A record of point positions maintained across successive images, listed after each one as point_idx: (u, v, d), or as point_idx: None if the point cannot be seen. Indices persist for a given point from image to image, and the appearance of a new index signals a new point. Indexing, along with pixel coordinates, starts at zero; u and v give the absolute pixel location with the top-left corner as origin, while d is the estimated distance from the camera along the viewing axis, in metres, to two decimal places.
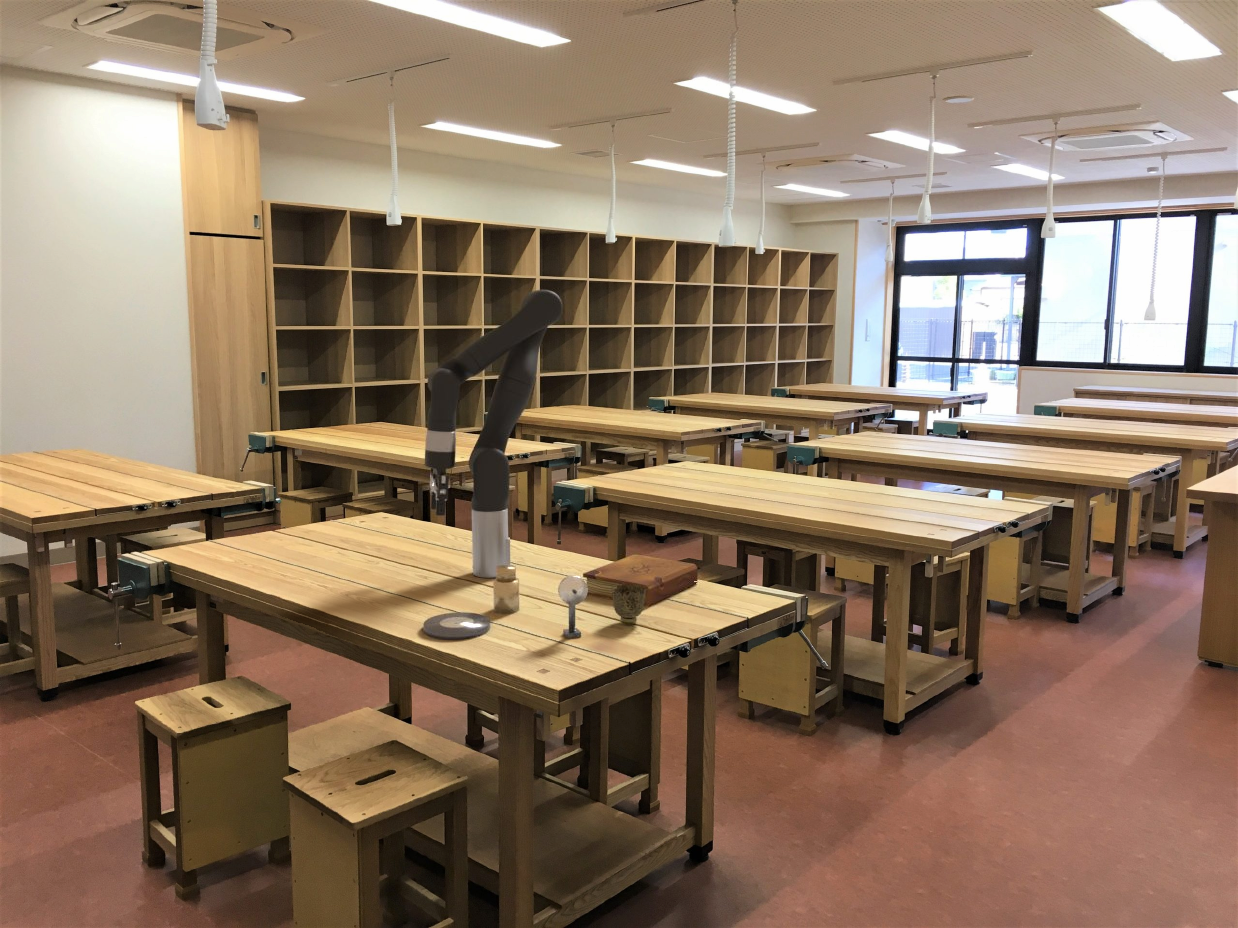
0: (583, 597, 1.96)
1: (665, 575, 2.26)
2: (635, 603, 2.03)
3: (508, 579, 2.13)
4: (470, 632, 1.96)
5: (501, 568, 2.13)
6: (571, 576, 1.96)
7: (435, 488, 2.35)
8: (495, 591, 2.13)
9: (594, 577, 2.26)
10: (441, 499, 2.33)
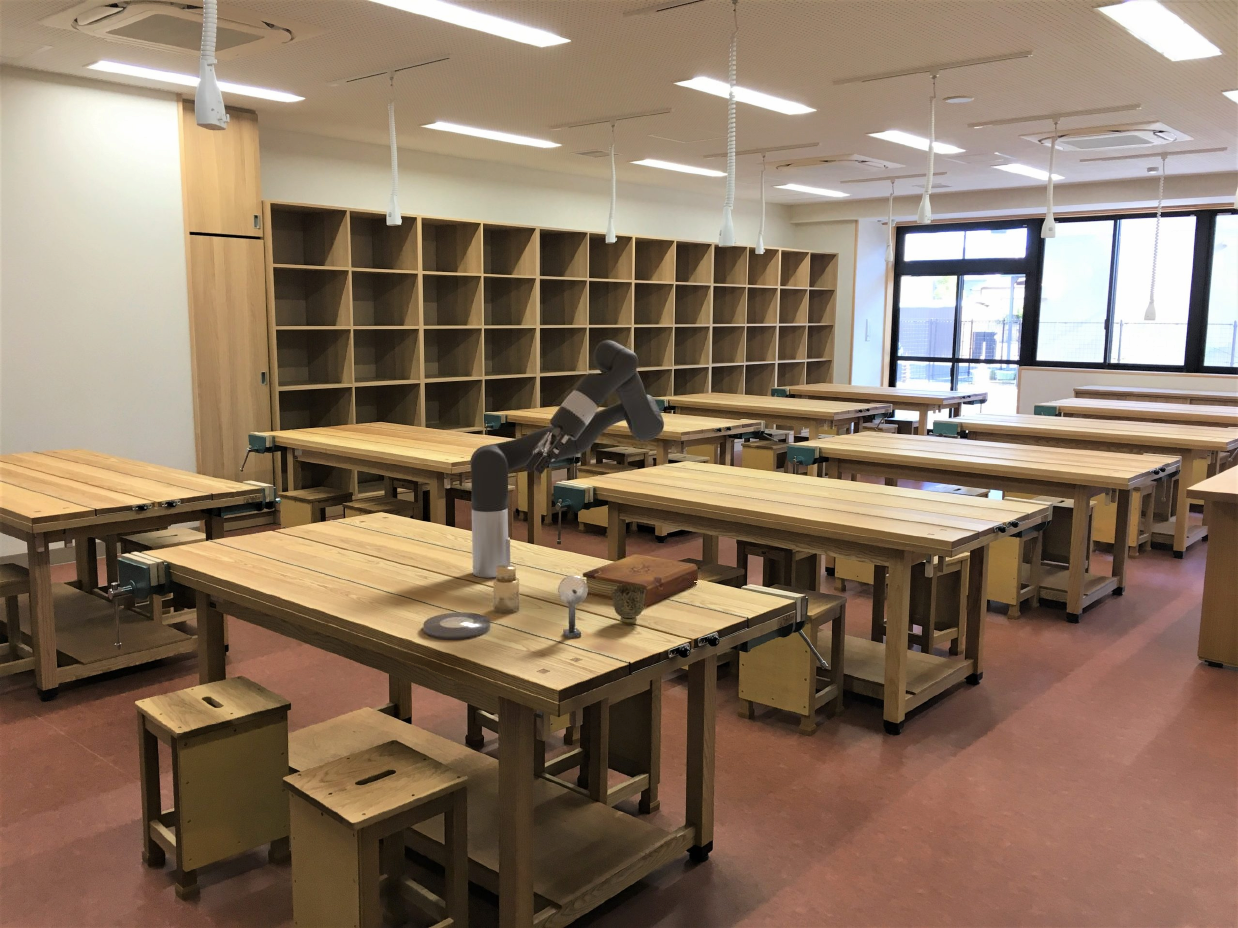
0: (583, 597, 1.96)
1: (665, 575, 2.26)
2: (635, 603, 2.03)
3: (508, 579, 2.13)
4: (470, 632, 1.96)
5: (501, 568, 2.13)
6: (571, 576, 1.96)
7: (549, 444, 2.13)
8: (495, 591, 2.13)
9: (594, 577, 2.26)
10: (550, 456, 2.10)
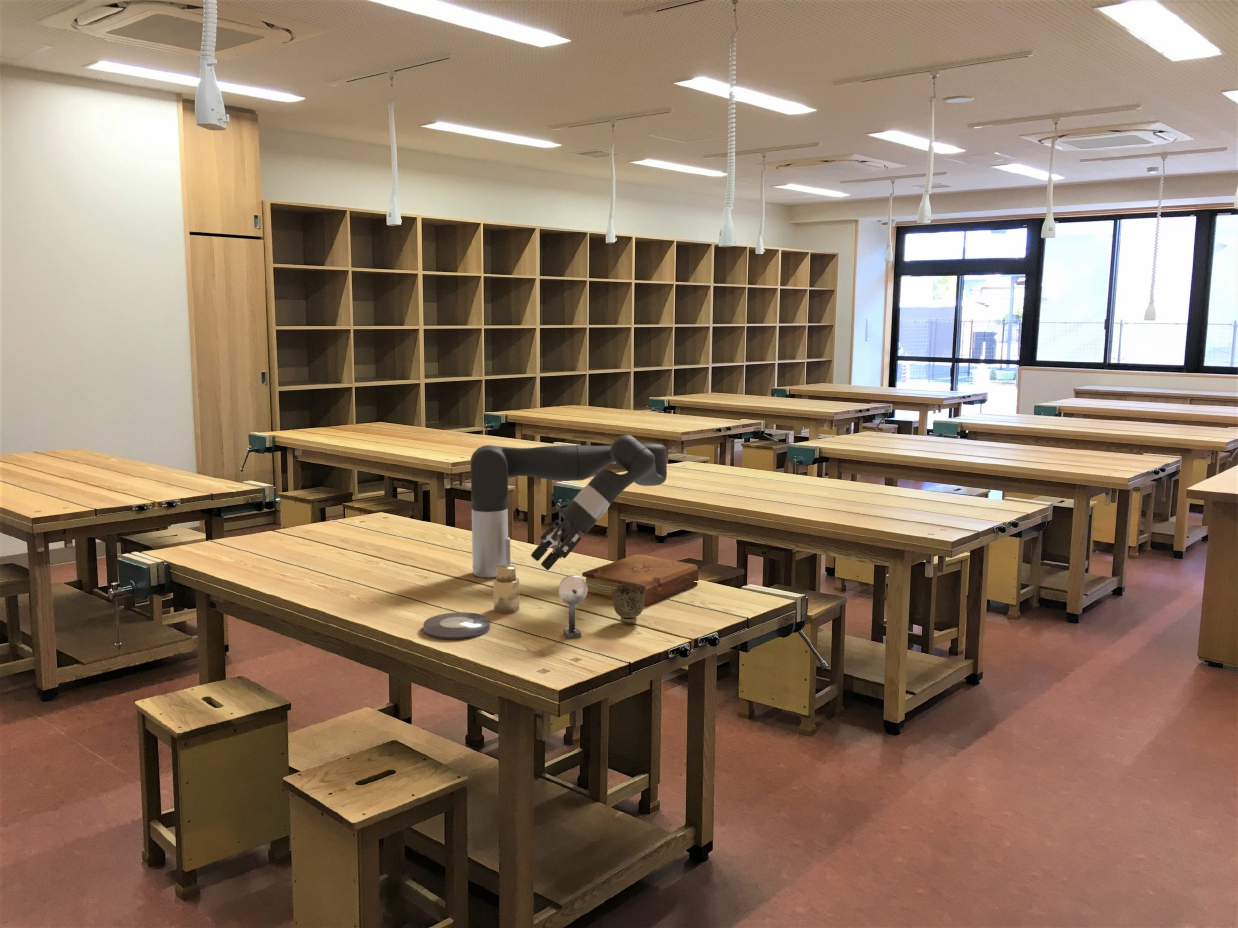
0: (583, 597, 1.96)
1: (664, 575, 2.26)
2: (635, 603, 2.03)
3: (508, 579, 2.13)
4: (470, 632, 1.96)
5: (501, 568, 2.13)
6: (571, 576, 1.96)
7: (558, 540, 2.13)
8: (495, 591, 2.13)
9: (593, 576, 2.27)
10: (558, 554, 2.10)
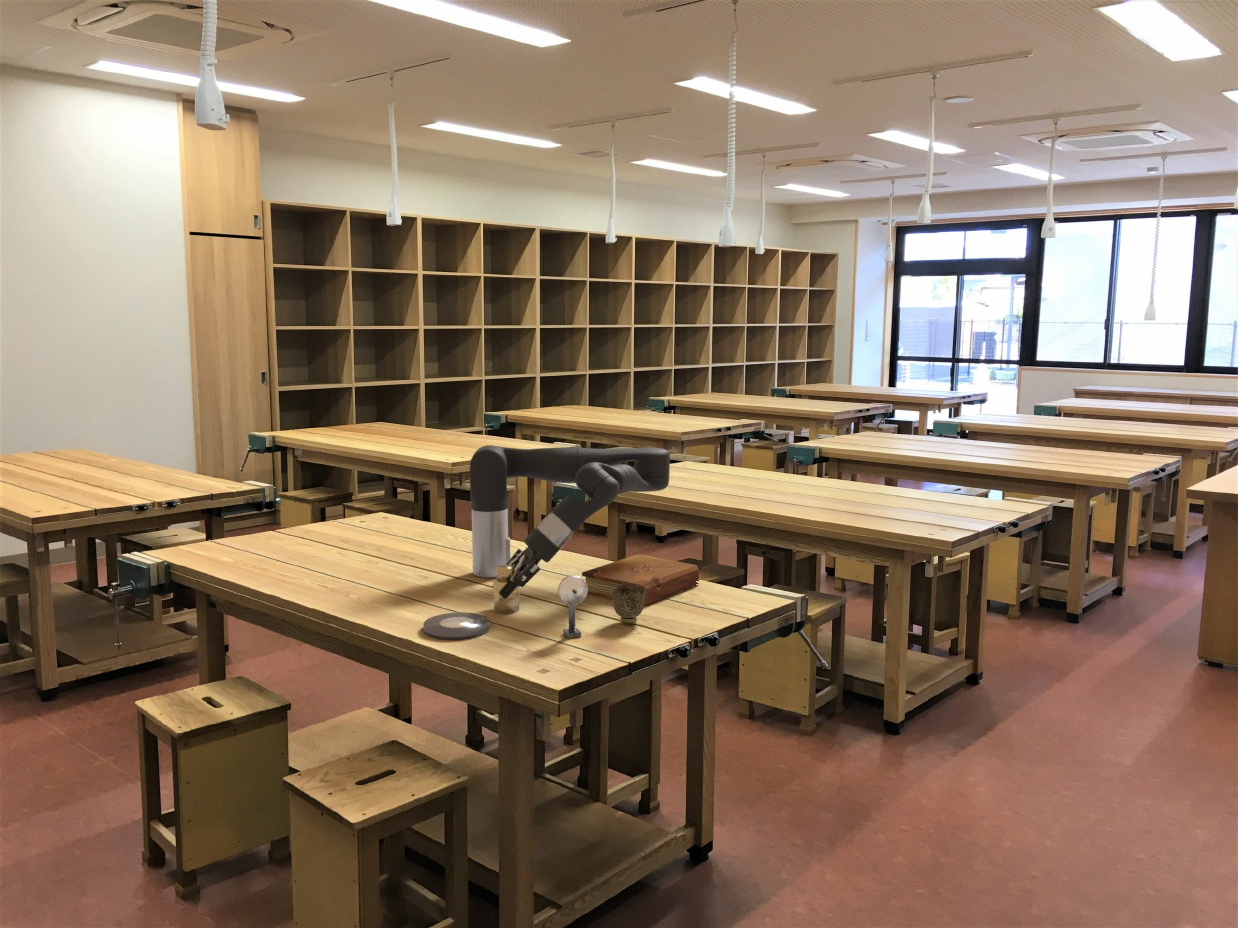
0: (583, 597, 1.96)
1: (663, 576, 2.26)
2: (635, 603, 2.03)
3: (508, 579, 2.13)
4: (470, 632, 1.96)
5: (501, 568, 2.13)
6: (571, 576, 1.96)
7: (518, 569, 2.12)
8: (495, 591, 2.13)
9: (592, 576, 2.27)
10: (516, 583, 2.10)
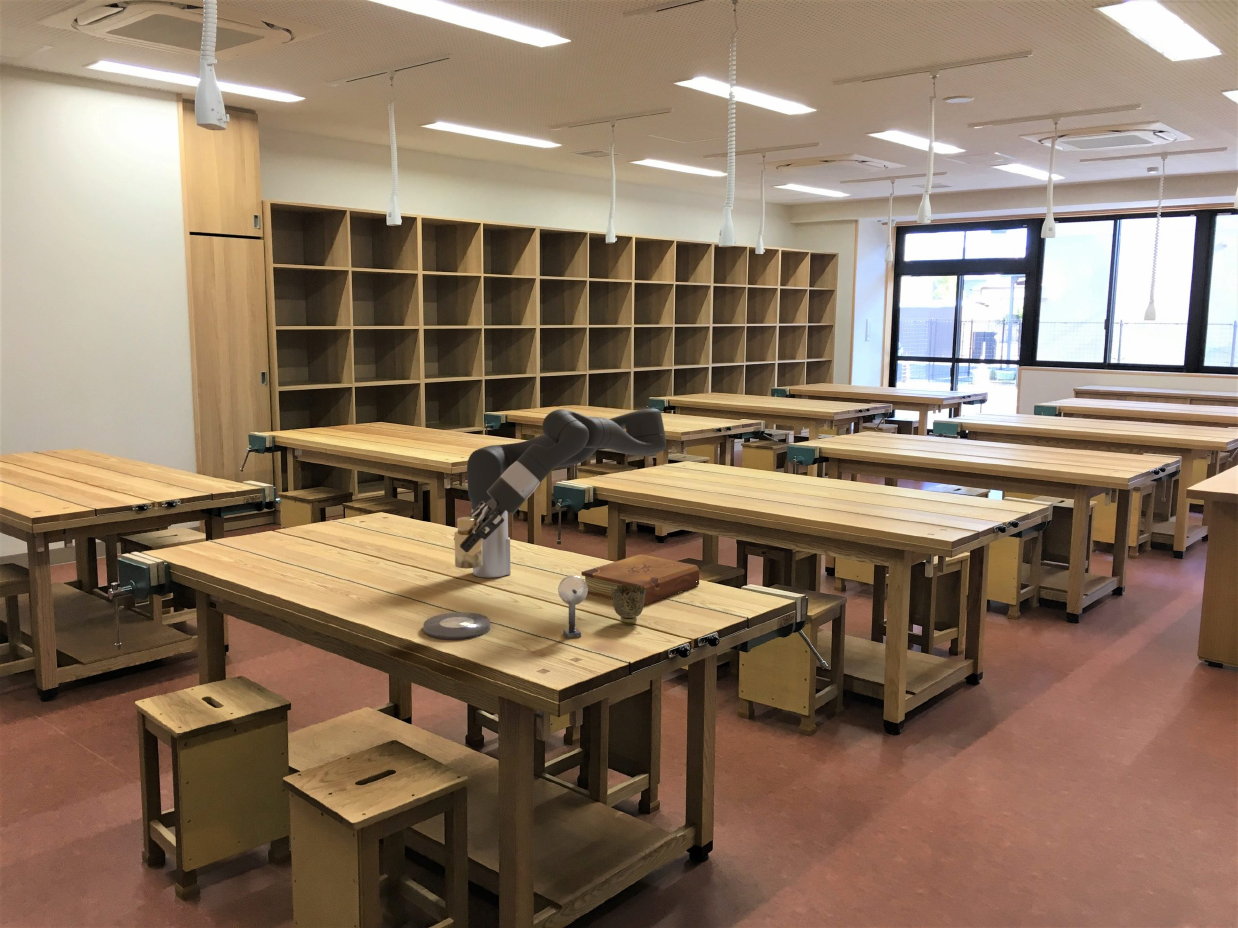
0: (583, 597, 1.96)
1: (662, 576, 2.26)
2: (635, 603, 2.03)
3: (470, 532, 1.99)
4: (470, 632, 1.96)
5: (463, 520, 1.99)
6: (571, 576, 1.96)
7: (480, 521, 1.98)
8: (456, 544, 1.99)
9: (592, 576, 2.27)
10: (478, 535, 1.96)
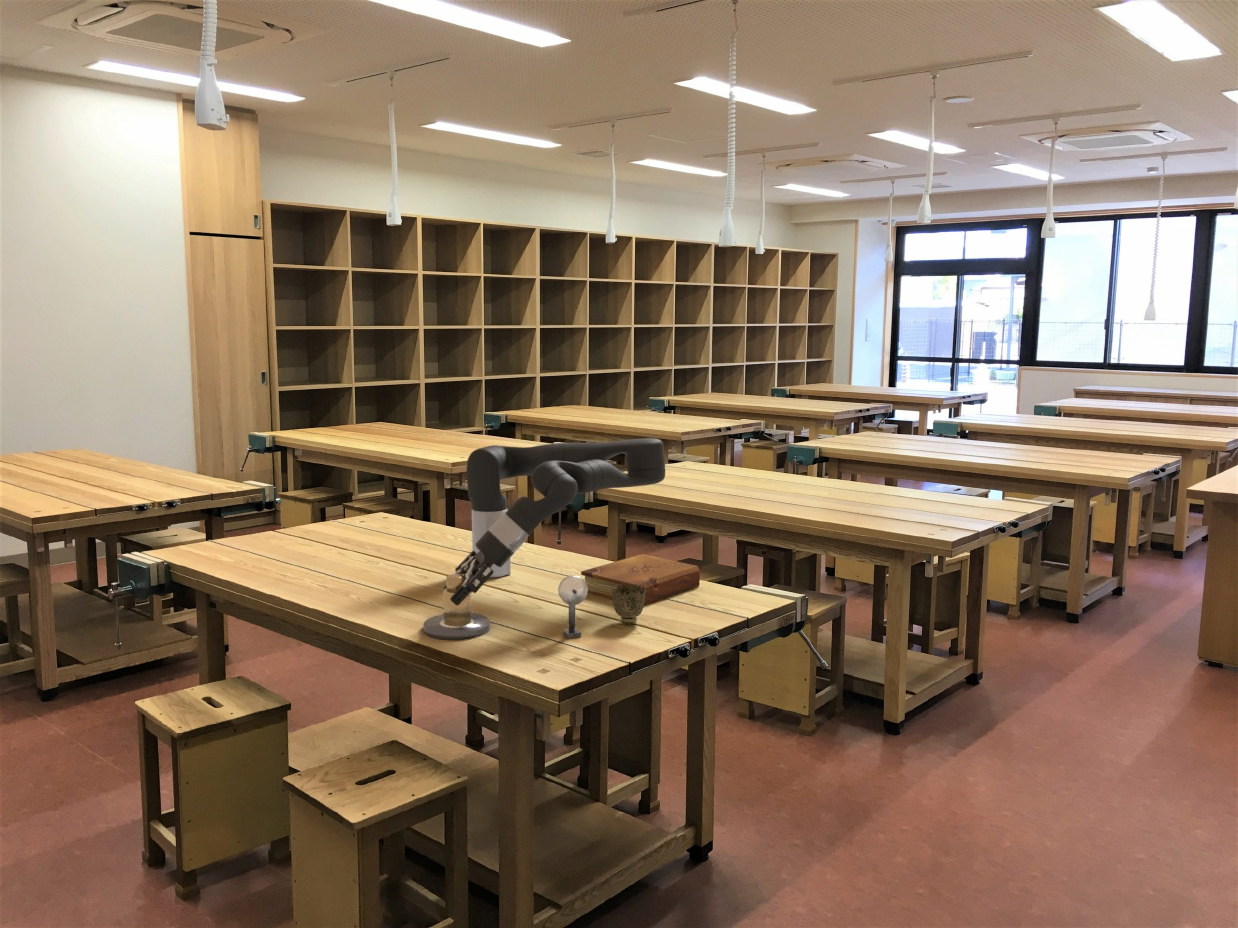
0: (583, 597, 1.96)
1: (661, 576, 2.26)
2: (635, 603, 2.03)
3: None
4: (470, 632, 1.96)
5: (451, 577, 2.00)
6: (571, 576, 1.96)
7: (470, 573, 1.98)
8: (445, 602, 2.00)
9: (591, 575, 2.28)
10: (468, 588, 1.96)
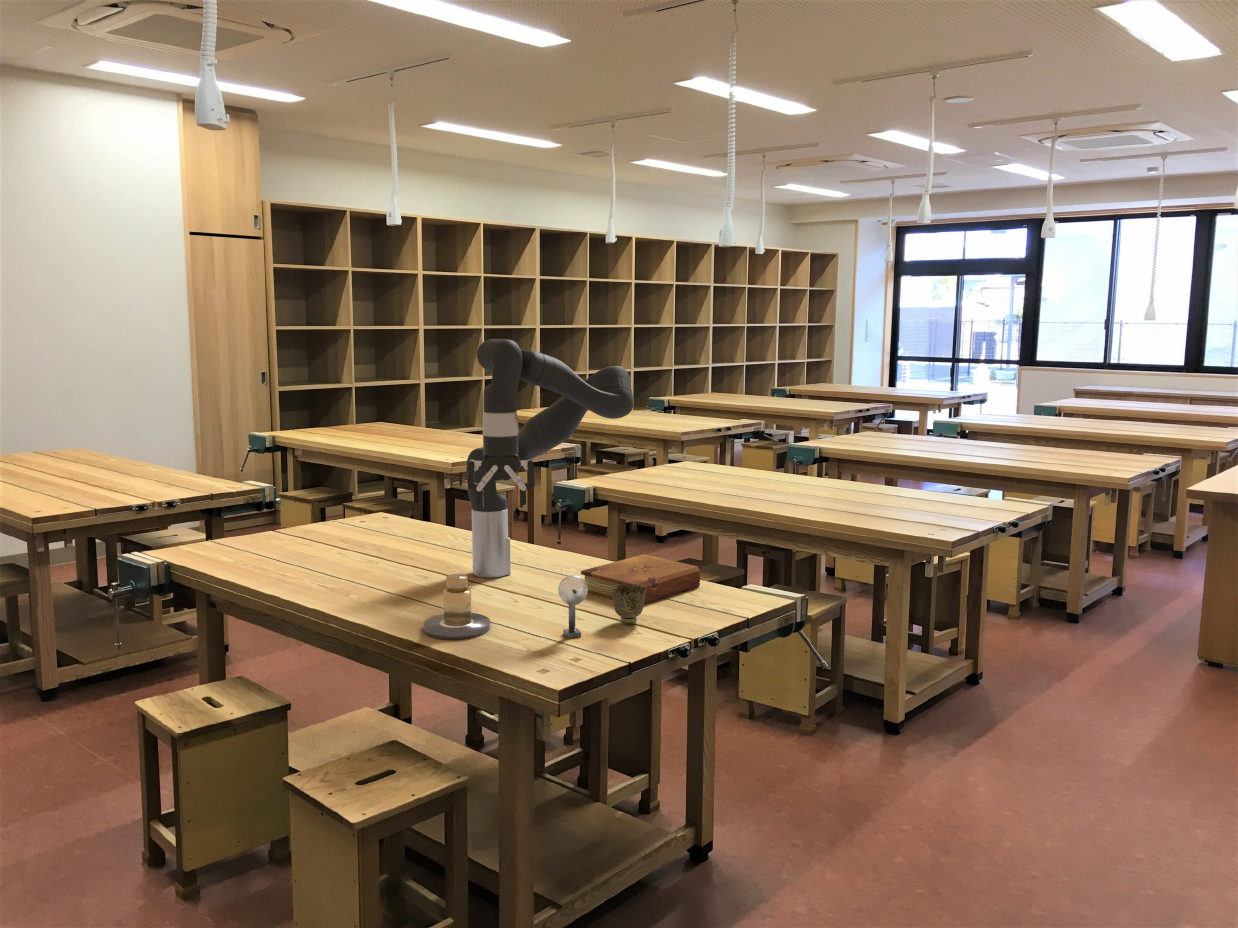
0: (583, 597, 1.96)
1: (660, 576, 2.26)
2: (635, 603, 2.03)
3: (458, 590, 1.99)
4: (470, 632, 1.96)
5: (451, 577, 2.00)
6: (571, 576, 1.96)
7: (483, 476, 2.05)
8: (445, 602, 2.00)
9: (590, 575, 2.28)
10: None
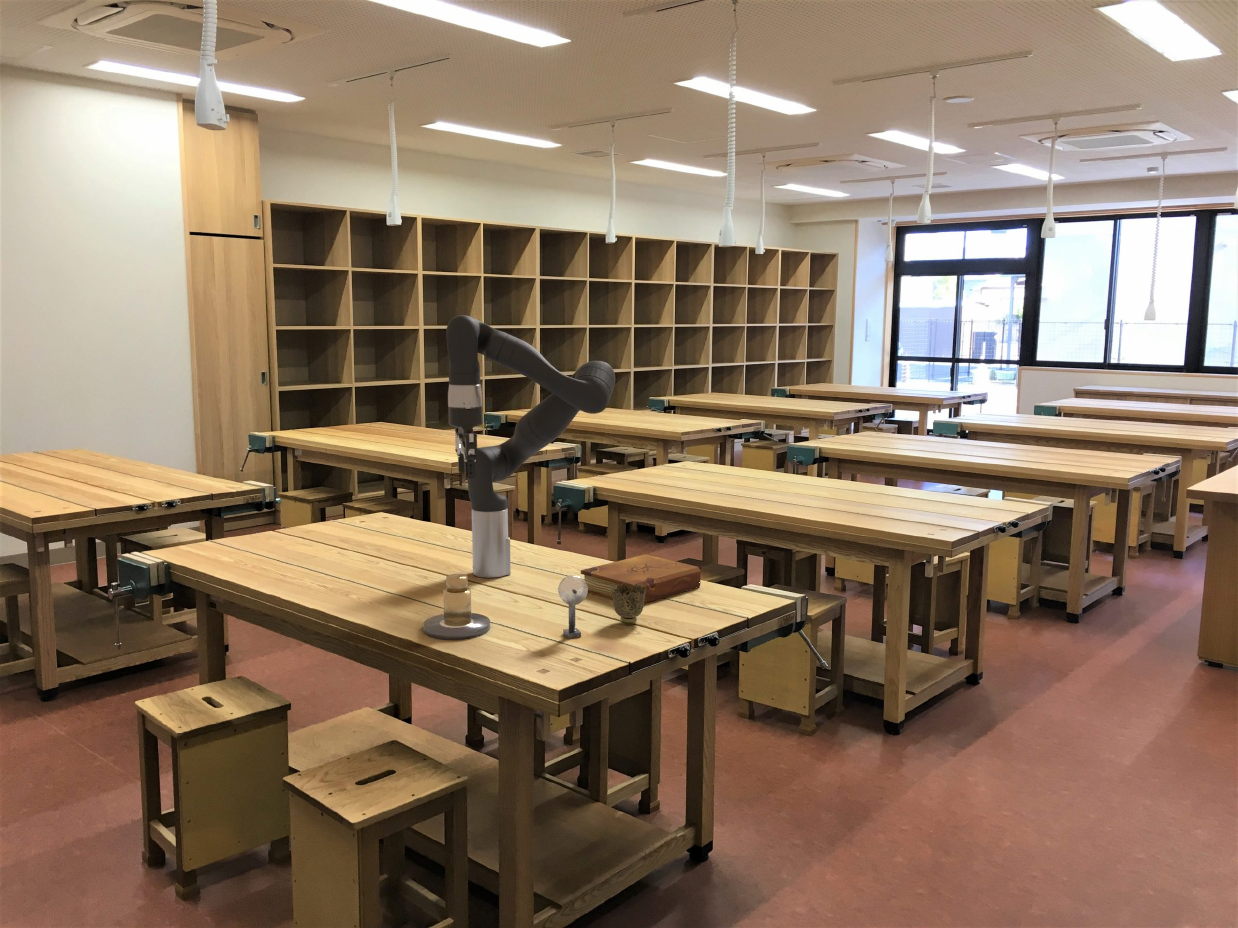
0: (583, 597, 1.96)
1: (659, 576, 2.25)
2: (635, 603, 2.03)
3: (458, 590, 1.99)
4: (470, 632, 1.96)
5: (451, 577, 2.00)
6: (571, 576, 1.96)
7: None
8: (445, 602, 2.00)
9: (590, 574, 2.29)
10: None
